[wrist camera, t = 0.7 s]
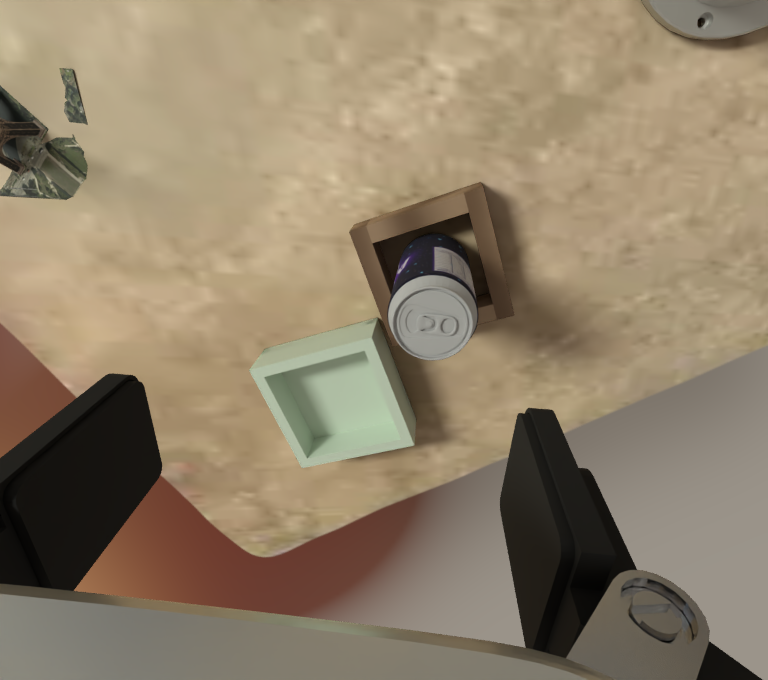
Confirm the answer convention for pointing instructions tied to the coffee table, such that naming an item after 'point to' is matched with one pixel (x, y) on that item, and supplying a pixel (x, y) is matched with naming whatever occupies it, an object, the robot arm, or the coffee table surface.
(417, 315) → the beverage can
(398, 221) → the socket block
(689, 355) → the coffee table surface
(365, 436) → the tray
